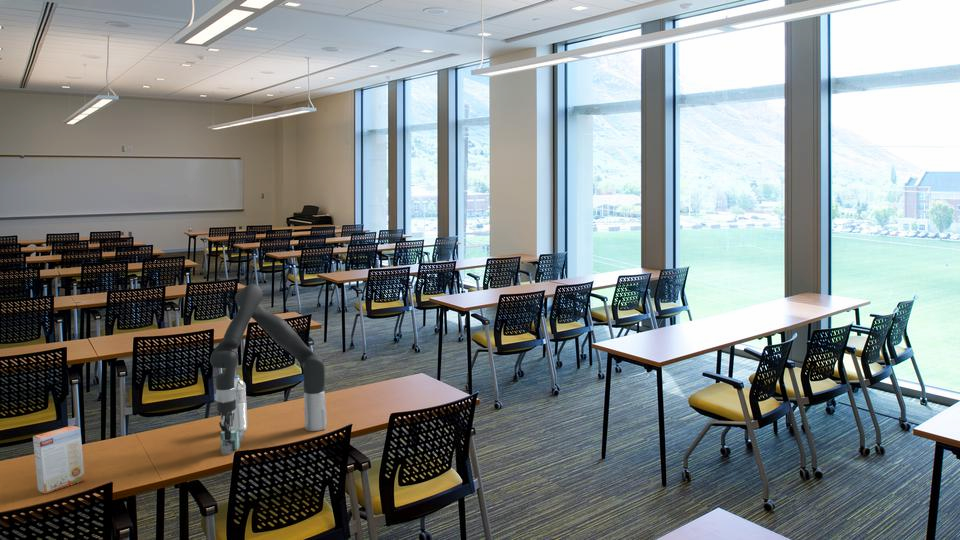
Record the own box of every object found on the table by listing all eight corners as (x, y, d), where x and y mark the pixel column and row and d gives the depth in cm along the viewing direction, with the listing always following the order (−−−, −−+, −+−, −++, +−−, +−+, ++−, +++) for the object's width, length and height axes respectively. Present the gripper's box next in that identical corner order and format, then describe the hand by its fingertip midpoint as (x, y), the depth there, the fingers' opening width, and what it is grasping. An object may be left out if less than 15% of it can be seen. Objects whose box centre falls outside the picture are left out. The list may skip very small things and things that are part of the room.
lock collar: (237, 449, 286) (236, 432, 285) (221, 450, 286) (220, 433, 285) (239, 447, 289) (238, 430, 288) (223, 447, 289) (222, 430, 288)
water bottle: (242, 432, 307) (240, 378, 304) (228, 431, 308) (226, 377, 306) (250, 427, 314) (248, 374, 311) (236, 426, 315) (234, 373, 312)
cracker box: (77, 477, 259) (73, 424, 257) (85, 481, 256) (81, 427, 253) (36, 491, 248) (32, 435, 245) (44, 495, 244) (39, 438, 242)
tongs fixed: (230, 454, 281) (229, 444, 281) (221, 454, 281) (220, 444, 281) (244, 437, 301) (243, 428, 301) (235, 437, 301) (235, 428, 301)
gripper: (221, 394, 288) (223, 434, 290) (211, 403, 275) (213, 445, 277) (239, 393, 288) (241, 433, 290) (230, 403, 275) (232, 444, 277)
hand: (227, 439), depth 284 cm, fingers closed
